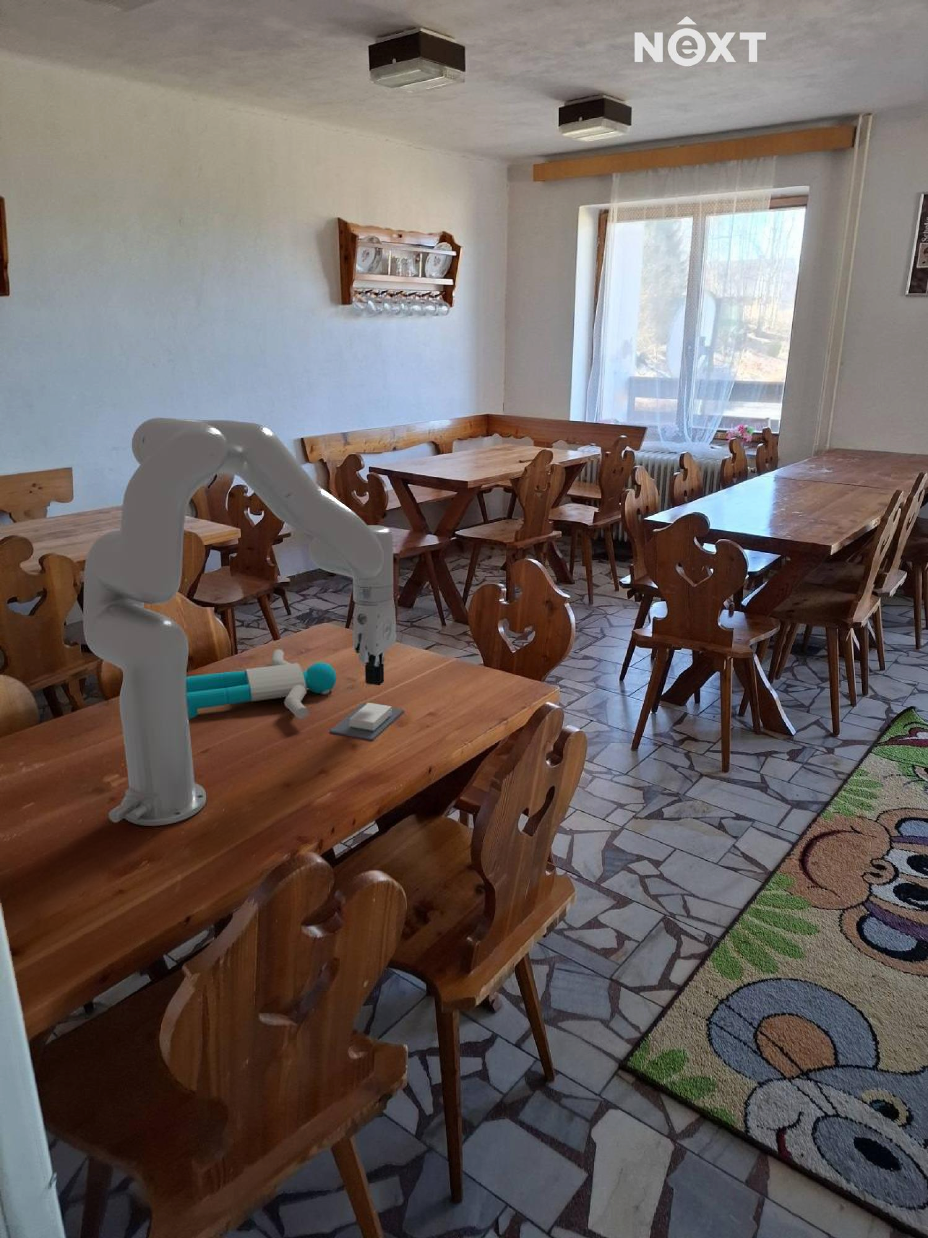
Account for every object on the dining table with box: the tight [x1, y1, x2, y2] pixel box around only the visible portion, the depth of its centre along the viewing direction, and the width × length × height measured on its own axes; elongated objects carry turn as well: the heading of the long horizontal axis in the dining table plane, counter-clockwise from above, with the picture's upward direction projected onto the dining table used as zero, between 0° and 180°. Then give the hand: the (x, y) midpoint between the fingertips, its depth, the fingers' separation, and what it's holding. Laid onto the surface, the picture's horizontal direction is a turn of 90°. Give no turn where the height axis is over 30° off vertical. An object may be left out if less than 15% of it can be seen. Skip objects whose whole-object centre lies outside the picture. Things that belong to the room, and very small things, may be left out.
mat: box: [329, 702, 405, 741], centre depth 163 cm, size 14×9×1 cm, turn 160°
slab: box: [350, 702, 393, 731], centre depth 162 cm, size 2×5×8 cm
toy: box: [186, 649, 337, 720], centre depth 173 cm, size 34×6×30 cm
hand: (374, 682), depth 164 cm, fingers closed
